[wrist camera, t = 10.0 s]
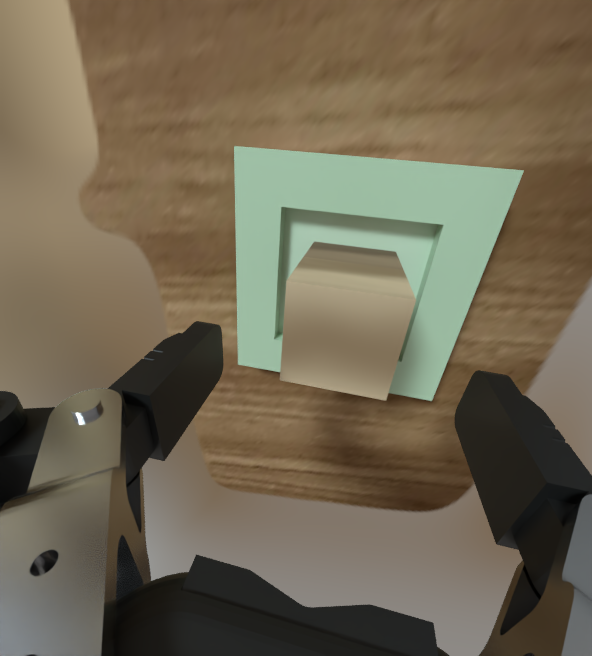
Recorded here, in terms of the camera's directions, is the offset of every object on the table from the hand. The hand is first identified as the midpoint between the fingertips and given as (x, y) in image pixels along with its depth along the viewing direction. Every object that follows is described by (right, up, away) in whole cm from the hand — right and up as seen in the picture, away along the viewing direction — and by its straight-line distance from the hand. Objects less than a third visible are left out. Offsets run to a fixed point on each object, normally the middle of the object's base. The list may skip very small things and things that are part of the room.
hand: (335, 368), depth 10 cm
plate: (+2, +4, +9) cm, 10 cm away
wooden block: (+2, +4, +8) cm, 9 cm away
